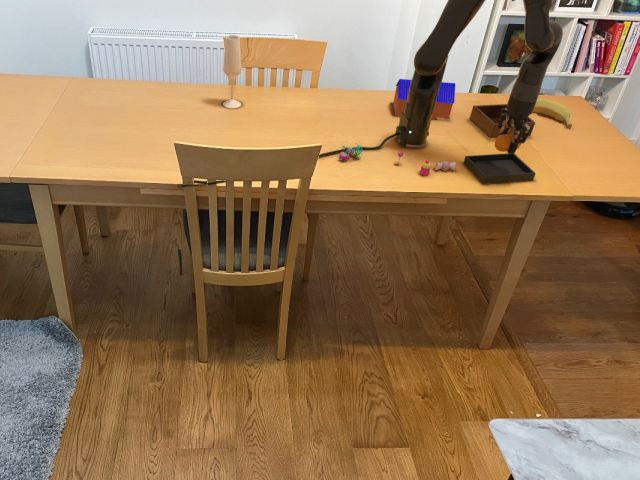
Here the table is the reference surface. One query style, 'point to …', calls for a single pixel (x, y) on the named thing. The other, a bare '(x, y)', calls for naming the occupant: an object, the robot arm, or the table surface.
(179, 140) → the table surface
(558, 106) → the banana
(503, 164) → the tray
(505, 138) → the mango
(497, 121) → the brown wooden box
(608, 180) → the table surface
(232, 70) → the champagne flute
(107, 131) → the table surface
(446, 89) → the house
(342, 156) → the anatomy model
